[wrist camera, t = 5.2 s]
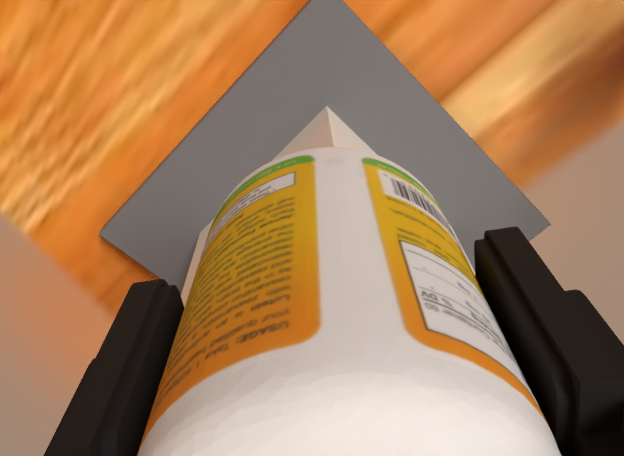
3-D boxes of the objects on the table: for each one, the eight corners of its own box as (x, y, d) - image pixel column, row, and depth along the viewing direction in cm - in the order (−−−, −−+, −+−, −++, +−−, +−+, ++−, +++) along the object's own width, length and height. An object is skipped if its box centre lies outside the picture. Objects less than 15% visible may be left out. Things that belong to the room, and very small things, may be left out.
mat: (543, 216, 33) (550, 224, 32) (325, 386, 39) (326, 397, 38) (325, -18, 27) (326, -16, 26) (103, 225, 33) (98, 234, 32)
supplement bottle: (211, 344, 14) (59, 1002, 5) (204, 133, 12) (-93, 725, 3) (428, 353, 14) (617, 1004, 6) (468, 147, 12) (914, 741, 3)
